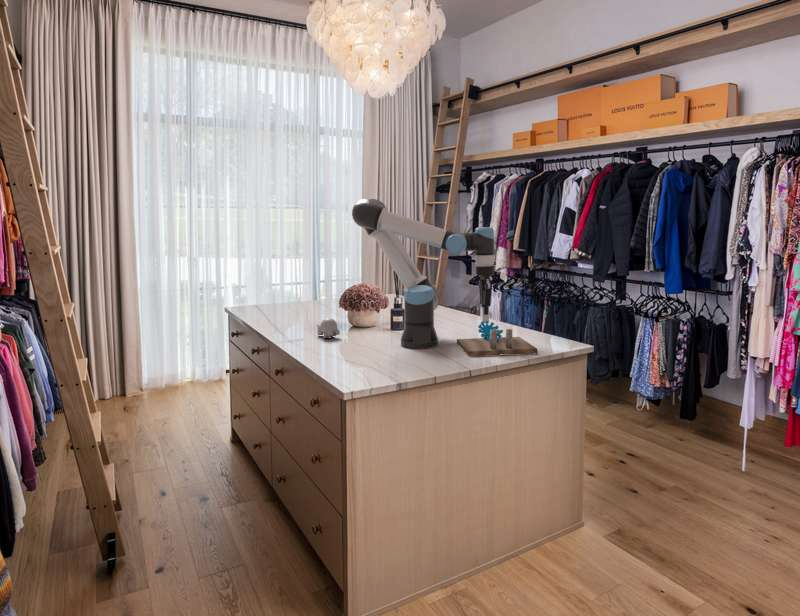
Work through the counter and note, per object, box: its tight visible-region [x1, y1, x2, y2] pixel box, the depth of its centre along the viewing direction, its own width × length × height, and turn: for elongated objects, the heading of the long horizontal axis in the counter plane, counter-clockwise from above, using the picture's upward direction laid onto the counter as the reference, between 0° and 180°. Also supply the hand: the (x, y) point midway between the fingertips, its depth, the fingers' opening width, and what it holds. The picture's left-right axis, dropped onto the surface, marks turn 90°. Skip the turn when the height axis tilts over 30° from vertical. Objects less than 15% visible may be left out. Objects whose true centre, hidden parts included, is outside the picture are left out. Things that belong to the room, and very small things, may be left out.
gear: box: [477, 320, 504, 341], centre depth 239 cm, size 11×6×10 cm
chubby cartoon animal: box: [316, 317, 341, 339], centre depth 258 cm, size 7×12×8 cm, turn 44°
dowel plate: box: [456, 328, 538, 357], centre depth 232 cm, size 26×22×9 cm
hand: (485, 322), depth 248 cm, fingers closed
